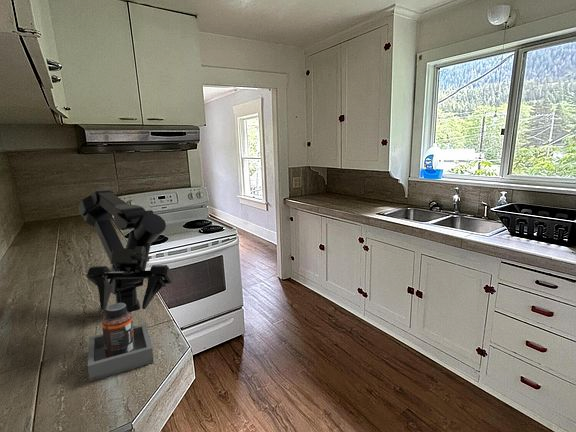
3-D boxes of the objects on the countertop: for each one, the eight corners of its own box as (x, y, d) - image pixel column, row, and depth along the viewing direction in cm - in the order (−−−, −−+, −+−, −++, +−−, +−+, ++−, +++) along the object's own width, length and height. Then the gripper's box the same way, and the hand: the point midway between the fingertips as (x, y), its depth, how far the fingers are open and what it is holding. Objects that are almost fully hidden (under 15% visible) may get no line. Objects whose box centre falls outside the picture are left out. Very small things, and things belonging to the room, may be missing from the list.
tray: (90, 350, 73) (89, 337, 73) (146, 336, 79) (145, 323, 79) (89, 381, 63) (87, 366, 62) (153, 362, 69) (152, 348, 68)
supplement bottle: (139, 352, 71) (135, 306, 69) (111, 364, 67) (106, 315, 65) (128, 342, 75) (124, 298, 73) (101, 353, 71) (96, 306, 69)
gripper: (85, 234, 74) (62, 298, 65) (166, 233, 76) (154, 295, 67) (105, 256, 83) (87, 314, 75) (176, 254, 85) (167, 312, 76)
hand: (123, 309), depth 73 cm, fingers open, 9 cm apart
